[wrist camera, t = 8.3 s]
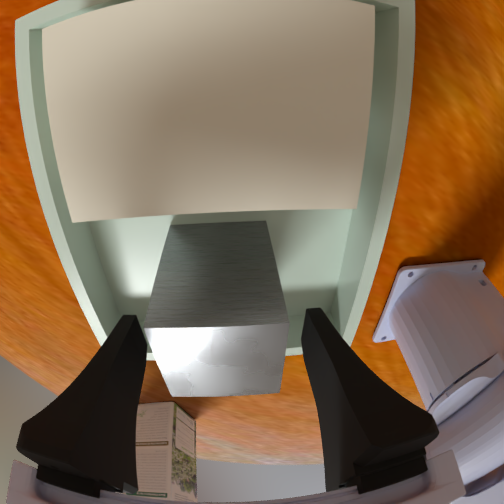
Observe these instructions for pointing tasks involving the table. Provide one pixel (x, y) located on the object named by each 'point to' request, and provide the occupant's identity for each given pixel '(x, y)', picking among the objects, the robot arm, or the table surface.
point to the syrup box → (165, 453)
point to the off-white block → (210, 106)
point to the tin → (218, 311)
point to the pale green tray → (278, 221)
